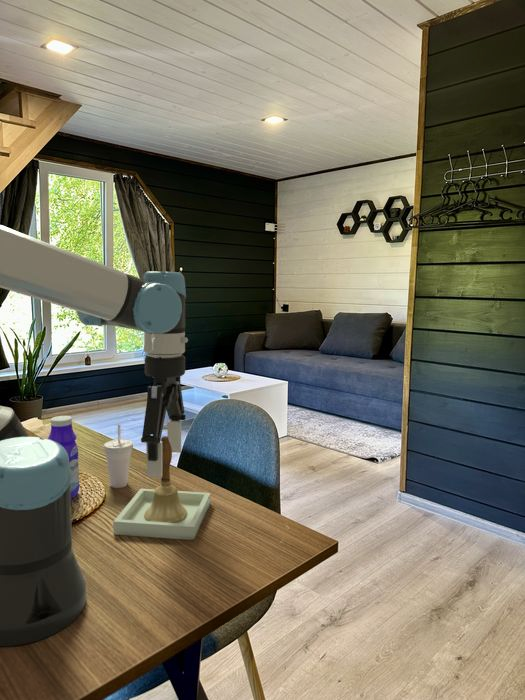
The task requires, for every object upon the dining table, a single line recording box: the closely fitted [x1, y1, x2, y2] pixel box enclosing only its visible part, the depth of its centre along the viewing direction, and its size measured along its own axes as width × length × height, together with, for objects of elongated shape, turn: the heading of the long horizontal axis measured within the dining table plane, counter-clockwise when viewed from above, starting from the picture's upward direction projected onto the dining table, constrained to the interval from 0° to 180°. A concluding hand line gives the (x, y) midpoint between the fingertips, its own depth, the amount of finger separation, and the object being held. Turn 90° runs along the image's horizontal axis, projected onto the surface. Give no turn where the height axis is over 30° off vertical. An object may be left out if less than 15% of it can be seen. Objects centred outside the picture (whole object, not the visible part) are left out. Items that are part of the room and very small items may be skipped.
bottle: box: [47, 415, 80, 500], centre depth 107 cm, size 7×6×17 cm
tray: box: [113, 488, 211, 541], centre depth 99 cm, size 15×15×2 cm
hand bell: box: [144, 435, 187, 523], centre depth 99 cm, size 8×8×16 cm
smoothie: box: [103, 423, 134, 489], centre depth 114 cm, size 6×6×14 cm
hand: (165, 463), depth 98 cm, fingers open, 13 cm apart
